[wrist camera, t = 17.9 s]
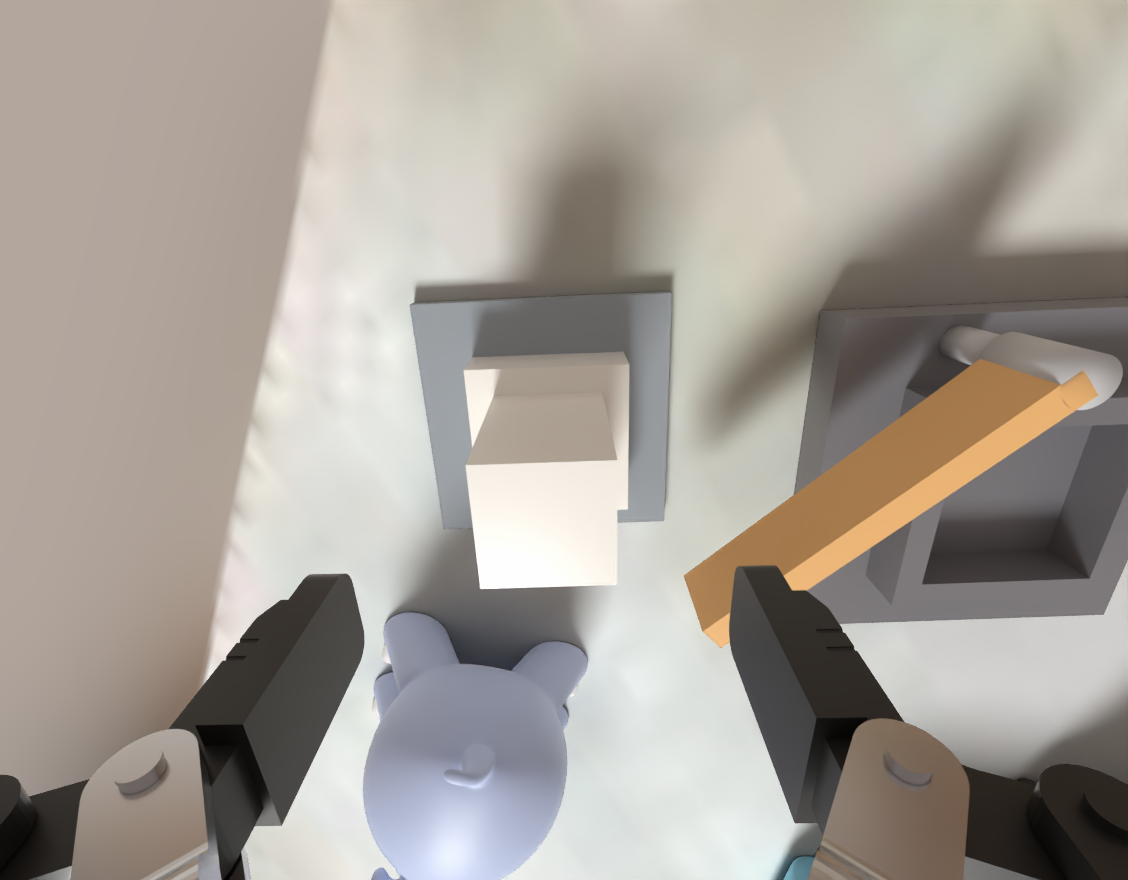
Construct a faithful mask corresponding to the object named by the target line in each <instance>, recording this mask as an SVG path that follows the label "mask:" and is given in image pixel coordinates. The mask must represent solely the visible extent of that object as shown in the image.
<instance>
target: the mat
mask: <svg viewBox="0 0 1128 880" xmlns="http://www.w3.org/2000/svg"><path fill="white" fill-rule="evenodd" d="M671 305H672V293H671V292H669V291H663V292H641V293H618V294H596V295H574V296H551V297H529V298H507V299H484V300H462V301H440V302H417V303H412V304H410V310H411V317H412V323H413V330H414V337H415V343H416V350H417V356H418V363H419V369H420V376H421V382H422V389H423V395H424V402H425V408H426V415H427V422H428V428H429V435H430V441H431V448H432V454H433V461H434V467H435V474H436V480H437V487H438V493H439V500H440V507H441V513H442V520H443V526H444V529H463V528H473V524H472V516H471V508H470V499H469V491H468V483H467V474H466V466H465V465H466V463H467V460H468V458H469V455H470V453H471V450H472V441H471V432H470V423H469V415H468V406H467V397H466V388H465V379H464V369H465V367H466V366H467V364H468V363H469V361H470V360H471V358H472V357H492V356H519V355H546V354H574V353H601V352H624V354H625V356H626V358H627V360H628V362H629V449H628V510H617V523H621V522H648V521H664V508H665V479H666V450H667V421H668V392H669V363H670V334H671Z"/></svg>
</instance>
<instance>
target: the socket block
mask: <svg viewBox="0 0 1128 880" xmlns="http://www.w3.org/2000/svg"><path fill="white" fill-rule="evenodd" d="M1008 332H1019V333H1023V334H1027V335H1031V336H1035V337H1039V338H1043V339H1048V340H1052V341H1056V342H1060V343H1064V344H1068V345H1072V346H1077V347H1081V348H1085V349H1089V350H1093V351H1097V352H1101V353H1106V354H1110V355H1113V356H1115V357H1116V358H1117V359H1118V360H1119V361H1120V362H1121V365H1122V368H1123V376H1122V380H1121V382H1120V385H1119V386H1118V388H1117V390H1116V391H1115V392H1114V394H1113V395H1112V396H1111V397H1110V398H1108V399H1107V400H1106V401H1105V402H1103V403H1102V404H1100V405H1098V406H1096V407H1094V408H1091V409H1087V410H1076V411H1074V412H1073V413H1071V414H1070V415H1068V416H1067V417H1065V418H1064V419H1062V420H1061V421H1059V422H1058V423H1056V424H1055V425H1053V426H1052V427H1050V428H1049V429H1047V430H1046V431H1044V432H1043V433H1041V434H1040V435H1038V436H1037V437H1035V438H1034V439H1032V440H1031V441H1029V442H1028V443H1026V444H1025V445H1023V446H1022V447H1020V448H1019V449H1017V450H1016V451H1014V452H1013V453H1011V454H1010V455H1008V456H1007V457H1006V458H1004V459H1003V460H1001V461H1000V462H998V463H997V464H995V465H994V466H992V467H991V468H989V469H988V470H986V471H985V472H983V473H982V474H980V475H979V476H977V477H976V478H974V479H973V480H971V481H970V482H968V483H967V484H965V485H964V486H962V487H961V488H959V489H958V490H956V491H955V492H953V493H952V494H950V495H949V496H947V497H946V498H944V499H943V500H941V501H940V502H938V503H937V504H935V505H934V506H932V507H931V508H929V509H928V510H926V511H925V512H923V513H922V514H920V515H919V516H917V517H916V518H914V519H913V520H911V521H910V522H908V523H907V524H905V525H904V526H902V527H901V528H899V529H898V530H896V531H895V532H893V533H892V534H890V535H889V536H887V537H886V538H884V539H883V540H881V541H880V542H878V543H877V544H875V545H874V546H872V547H871V548H870V549H868V550H867V551H865V552H864V553H862V554H861V555H859V556H858V557H856V558H855V559H853V560H852V561H850V562H849V563H847V564H846V565H844V566H843V567H841V568H840V569H838V570H837V571H835V572H834V573H832V574H831V575H829V576H828V577H826V578H825V579H823V580H822V581H820V582H819V583H817V584H816V585H814V586H813V587H811V588H810V589H808V590H807V591H808V592H809V593H810V594H811V595H813V596H814V597H815V598H817V599H818V600H819V601H820V602H822V603H823V604H824V605H825V606H827V607H828V608H829V609H830V611H831V613H832V614H833V616H834V617H835V619H836V620H837V622H838V623H839V624H847V623H876V622H904V621H933V620H962V619H991V618H1020V617H1048V616H1077V615H1104V613H1105V610H1106V608H1107V606H1108V603H1109V601H1110V599H1111V597H1112V594H1113V592H1114V590H1115V588H1116V585H1117V583H1118V581H1119V579H1120V576H1121V574H1122V572H1123V569H1124V567H1125V565H1126V563H1127V560H1128V297H1116V298H1093V299H1070V300H1048V301H1025V302H1002V303H980V304H957V305H934V306H911V307H889V308H866V309H843V310H821V311H820V316H819V323H818V330H817V337H816V344H815V351H814V358H813V365H812V372H811V379H810V386H809V393H808V400H807V407H806V415H805V422H804V429H803V436H802V443H801V450H800V457H799V464H798V471H797V478H796V485H795V492H794V495H795V494H796V493H798V492H799V491H800V490H802V489H803V488H804V487H806V486H807V485H808V484H810V483H811V482H813V481H814V480H815V479H817V478H818V477H819V476H821V475H822V474H823V473H825V472H826V471H828V470H829V469H830V468H832V467H833V466H834V465H836V464H837V463H839V462H840V461H841V460H843V459H844V458H845V457H847V456H848V455H849V454H851V453H852V452H854V451H855V450H856V449H858V448H859V447H860V446H862V445H863V444H864V443H866V442H867V441H869V440H870V439H871V438H873V437H874V436H875V435H877V434H878V433H880V432H881V431H882V430H884V429H885V428H886V427H888V426H889V425H890V424H892V423H893V422H895V421H896V420H897V419H899V418H900V417H901V416H903V415H904V414H905V413H907V412H908V411H910V410H911V409H912V408H914V407H915V406H916V405H918V404H919V403H921V402H922V401H923V400H925V399H926V398H927V397H929V396H930V395H931V394H933V393H934V392H936V391H937V390H938V389H940V388H941V387H942V386H944V385H945V384H946V383H948V382H949V381H951V380H952V379H953V378H955V377H956V376H957V375H959V374H960V373H961V372H963V371H964V370H966V369H967V368H968V367H970V366H971V365H972V364H974V363H975V362H977V361H978V360H979V359H980V358H981V355H982V353H983V351H984V349H985V348H986V346H987V345H988V344H989V343H990V342H991V341H992V340H993V339H995V338H996V337H998V336H1000V335H1002V334H1004V333H1008Z"/></svg>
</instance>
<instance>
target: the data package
mask: <svg viewBox="0 0 1128 880" xmlns="http://www.w3.org/2000/svg"><path fill="white" fill-rule="evenodd" d="M814 858H815V857H810V856H801V857H798V858H796V859H795V860H794V861H793V862H792V864H791V865H790V867H789V869H788V871H787V873H786V875H785V877H784V879H783V880H808V878H809V874H810V871H811V868H812V864H813V861H814Z"/></svg>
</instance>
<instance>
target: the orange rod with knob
mask: <svg viewBox="0 0 1128 880" xmlns="http://www.w3.org/2000/svg"><path fill="white" fill-rule="evenodd" d="M1122 376H1123V368H1122V365H1121V362H1120V361H1119V360H1118V359H1117V358H1116V357H1115V356H1113V355H1110V354H1106V353H1101V352H1097V351H1093V350H1089V349H1085V348H1081V347H1077V346H1072V345H1068V344H1064V343H1060V342H1056V341H1052V340H1048V339H1043V338H1039V337H1035V336H1031V335H1027V334H1023V333H1019V332H1008V333H1004V334H1002V335H1000V336H998V337H996V338H995V339H993V340H992V341H991V342H990V343H989V344H988V345H987V346H986V348H985V349H984V351H983V353H982V355H981V358H980V359H979V360H978V361H977V362H975V363H974V364H972V365H971V366H970V367H968V368H967V369H966V370H964V371H963V372H961V373H960V374H959V375H957V376H956V377H955V378H953V379H952V380H951V381H949V382H948V383H946V384H945V385H944V386H942V387H941V388H940V389H938V390H937V391H936V392H934V393H933V394H931V395H930V396H929V397H927V398H926V399H925V400H923V401H922V402H921V403H919V404H918V405H916V406H915V407H914V408H912V409H911V410H910V411H908V412H907V413H905V414H904V415H903V416H901V417H900V418H899V419H897V420H896V421H895V422H893V423H892V424H890V425H889V426H888V427H886V428H885V429H884V430H882V431H881V432H880V433H878V434H877V435H875V436H874V437H873V438H871V439H870V440H869V441H867V442H866V443H864V444H863V445H862V446H860V447H859V448H858V449H856V450H855V451H854V452H852V453H851V454H849V455H848V456H847V457H845V458H844V459H843V460H841V461H840V462H839V463H837V464H836V465H834V466H833V467H832V468H830V469H829V470H828V471H826V472H825V473H823V474H822V475H821V476H819V477H818V478H817V479H815V480H814V481H813V482H811V483H810V484H808V485H807V486H806V487H804V488H803V489H802V490H800V491H799V492H798V493H796V494H795V495H793V496H792V497H791V498H789V499H788V500H787V501H785V502H784V503H783V504H781V505H780V506H778V507H777V508H776V509H774V510H773V511H772V512H770V513H769V514H767V515H766V516H765V517H763V518H762V519H761V520H759V521H758V522H757V523H755V524H754V525H752V526H751V527H750V528H748V529H747V530H746V531H744V532H743V533H742V534H740V535H739V536H737V537H736V538H735V539H733V540H732V541H731V542H729V543H728V544H726V545H725V546H724V547H722V548H721V549H720V550H718V551H717V552H716V553H714V554H713V555H711V556H710V557H709V558H707V559H706V560H705V561H703V562H702V563H701V564H699V565H698V566H696V567H695V568H694V569H692V570H691V571H690V572H688V573H687V574H685V575H684V578H685V581H686V584H687V587H688V590H689V592H690V595H691V598H692V601H693V604H694V607H695V610H696V613H697V616H698V619H699V622H700V625H701V628H702V631H703V632H704V633H705V634H706V635H707V636H708V637H709V638H711V639H712V640H713V641H714V642H715V643H716V644H717V645H718V646H719V647H720V648H722V647H723V646H725V645H726V644H728V643H729V642H730V639H729V620H730V611H731V602H732V592H733V583H734V574H735V570H736V568H737V567H738V566H756V565H776V566H777V567H778V568H779V569H780V571H781V573H782V574H783V576H784V578H785V579H786V581H787V583H788V584H789V586H790V588H791V589H792V590H806V591H807V590H808V589H810V588H811V587H813V586H814V585H816V584H817V583H819V582H820V581H822V580H823V579H825V578H826V577H828V576H829V575H831V574H832V573H834V572H835V571H837V570H838V569H840V568H841V567H843V566H844V565H846V564H847V563H849V562H850V561H852V560H853V559H855V558H856V557H858V556H859V555H861V554H862V553H864V552H865V551H867V550H868V549H870V548H871V547H872V546H874V545H875V544H877V543H878V542H880V541H881V540H883V539H884V538H886V537H887V536H889V535H890V534H892V533H893V532H895V531H896V530H898V529H899V528H901V527H902V526H904V525H905V524H907V523H908V522H910V521H911V520H913V519H914V518H916V517H917V516H919V515H920V514H922V513H923V512H925V511H926V510H928V509H929V508H931V507H932V506H934V505H935V504H937V503H938V502H940V501H941V500H943V499H944V498H946V497H947V496H949V495H950V494H952V493H953V492H955V491H956V490H958V489H959V488H961V487H962V486H964V485H965V484H967V483H968V482H970V481H971V480H973V479H974V478H976V477H977V476H979V475H980V474H982V473H983V472H985V471H986V470H988V469H989V468H991V467H992V466H994V465H995V464H997V463H998V462H1000V461H1001V460H1003V459H1004V458H1006V457H1007V456H1008V455H1010V454H1011V453H1013V452H1014V451H1016V450H1017V449H1019V448H1020V447H1022V446H1023V445H1025V444H1026V443H1028V442H1029V441H1031V440H1032V439H1034V438H1035V437H1037V436H1038V435H1040V434H1041V433H1043V432H1044V431H1046V430H1047V429H1049V428H1050V427H1052V426H1053V425H1055V424H1056V423H1058V422H1059V421H1061V420H1062V419H1064V418H1065V417H1067V416H1068V415H1070V414H1071V413H1073V412H1074V411H1076V410H1087V409H1091V408H1094V407H1096V406H1098V405H1100V404H1102V403H1103V402H1105V401H1106V400H1107V399H1108V398H1110V397H1111V396H1112V395H1113V394H1114V392H1115V391H1116V390H1117V388H1118V386H1119V385H1120V382H1121V380H1122Z"/></svg>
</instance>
